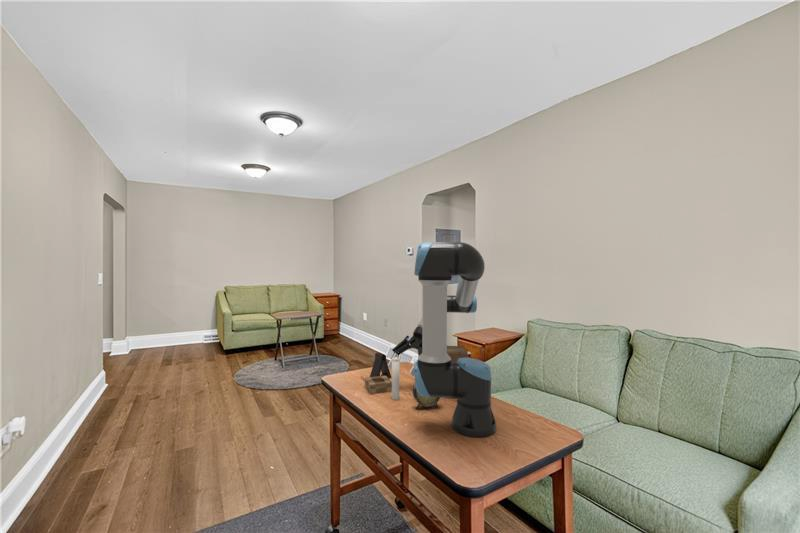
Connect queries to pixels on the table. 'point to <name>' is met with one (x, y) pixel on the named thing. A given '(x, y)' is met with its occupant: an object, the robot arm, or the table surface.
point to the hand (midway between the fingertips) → (400, 370)
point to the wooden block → (456, 353)
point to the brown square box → (378, 384)
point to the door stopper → (380, 366)
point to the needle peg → (395, 378)
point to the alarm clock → (424, 399)
